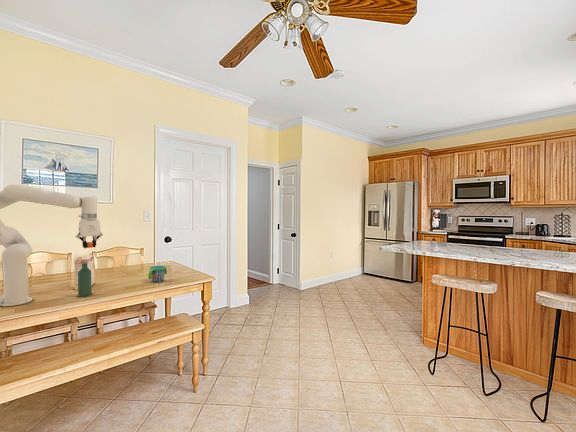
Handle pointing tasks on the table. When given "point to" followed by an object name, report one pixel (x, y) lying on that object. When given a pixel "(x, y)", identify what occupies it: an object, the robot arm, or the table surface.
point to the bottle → (84, 281)
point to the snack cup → (157, 273)
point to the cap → (89, 244)
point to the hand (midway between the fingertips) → (89, 247)
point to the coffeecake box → (78, 266)
